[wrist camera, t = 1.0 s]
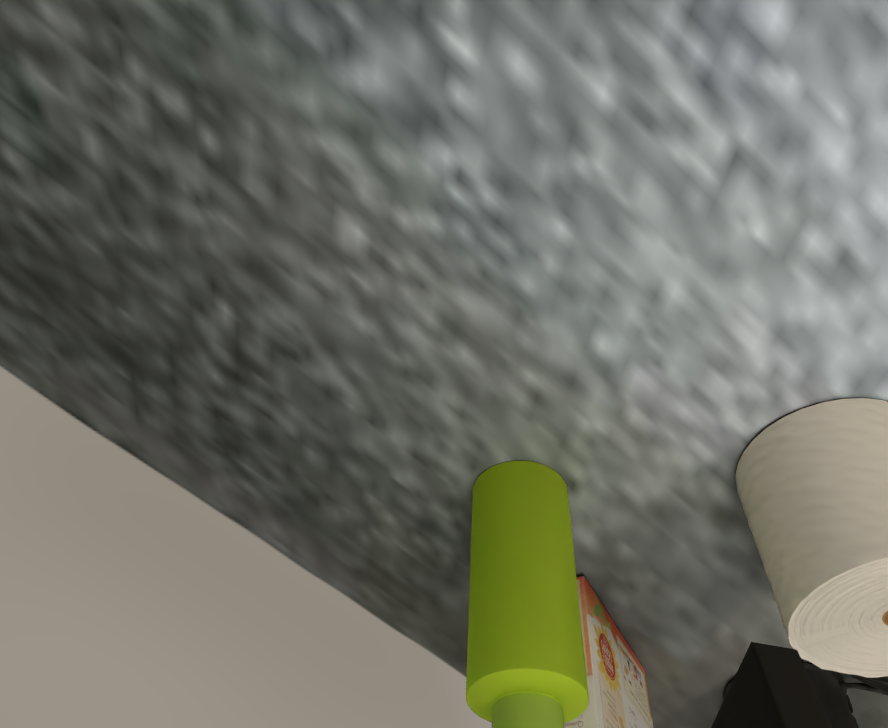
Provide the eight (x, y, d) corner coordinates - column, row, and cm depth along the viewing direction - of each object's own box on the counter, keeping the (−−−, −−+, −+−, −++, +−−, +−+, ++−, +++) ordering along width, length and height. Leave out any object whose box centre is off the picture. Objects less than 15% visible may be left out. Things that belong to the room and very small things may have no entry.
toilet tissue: (718, 424, 40) (772, 578, 32) (959, 365, 37) (1085, 521, 29) (748, 537, 46) (800, 690, 38) (958, 496, 43) (1062, 654, 35)
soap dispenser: (454, 459, 43) (431, 839, 27) (570, 460, 43) (614, 847, 27) (457, 522, 47) (438, 888, 31) (564, 524, 46) (600, 896, 31)
